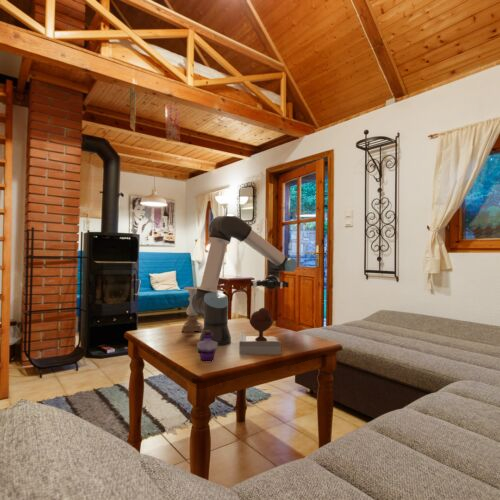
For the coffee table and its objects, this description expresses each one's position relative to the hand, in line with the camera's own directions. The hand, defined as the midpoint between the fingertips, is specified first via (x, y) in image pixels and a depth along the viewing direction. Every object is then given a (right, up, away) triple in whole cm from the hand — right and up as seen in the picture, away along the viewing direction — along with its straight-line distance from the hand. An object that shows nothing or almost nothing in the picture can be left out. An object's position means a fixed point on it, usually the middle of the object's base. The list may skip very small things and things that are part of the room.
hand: (267, 285), depth 174 cm
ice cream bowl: (-4, -24, -14) cm, 28 cm away
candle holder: (-41, -28, +21) cm, 54 cm away
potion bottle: (-26, -27, -32) cm, 50 cm away
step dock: (-5, -28, -15) cm, 32 cm away
